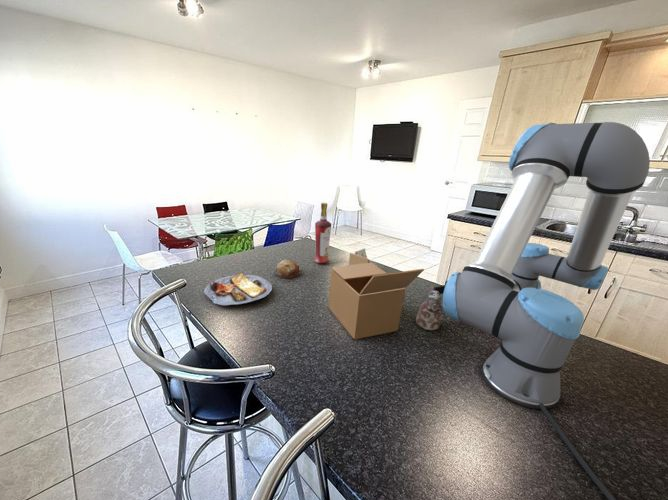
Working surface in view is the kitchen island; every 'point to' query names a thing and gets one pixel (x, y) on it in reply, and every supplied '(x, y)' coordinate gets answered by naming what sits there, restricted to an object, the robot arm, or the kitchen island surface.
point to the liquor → (322, 237)
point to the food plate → (237, 289)
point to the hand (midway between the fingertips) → (449, 300)
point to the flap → (390, 281)
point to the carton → (363, 301)
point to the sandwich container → (357, 259)
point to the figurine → (430, 311)
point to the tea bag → (361, 253)
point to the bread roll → (287, 269)
